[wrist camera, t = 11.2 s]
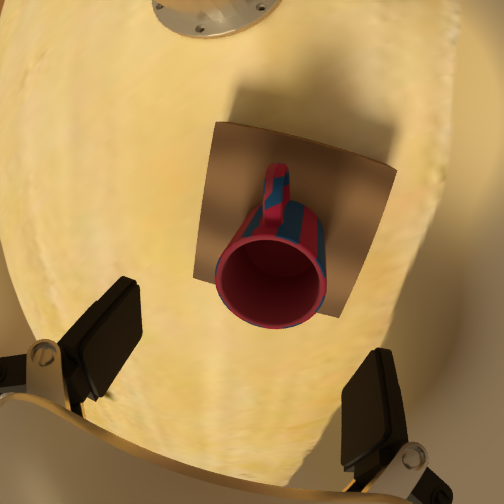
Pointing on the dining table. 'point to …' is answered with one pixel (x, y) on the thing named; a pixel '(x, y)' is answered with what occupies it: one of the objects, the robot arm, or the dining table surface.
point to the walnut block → (301, 190)
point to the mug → (275, 260)
